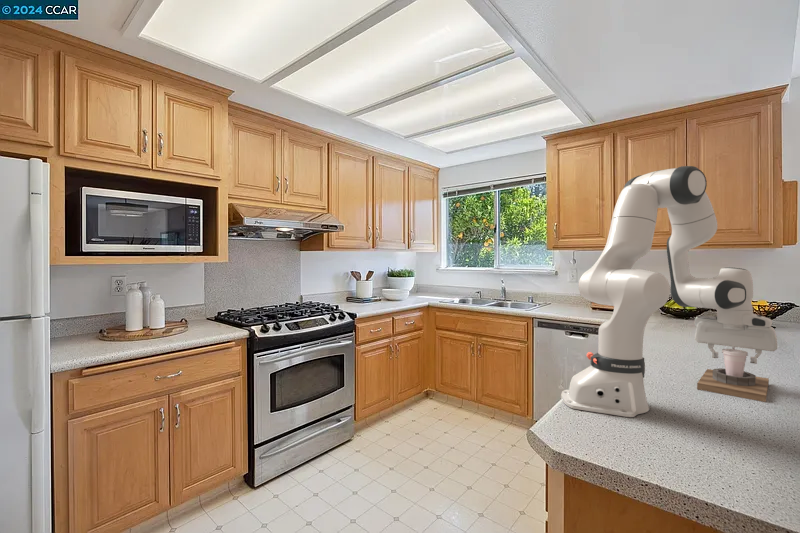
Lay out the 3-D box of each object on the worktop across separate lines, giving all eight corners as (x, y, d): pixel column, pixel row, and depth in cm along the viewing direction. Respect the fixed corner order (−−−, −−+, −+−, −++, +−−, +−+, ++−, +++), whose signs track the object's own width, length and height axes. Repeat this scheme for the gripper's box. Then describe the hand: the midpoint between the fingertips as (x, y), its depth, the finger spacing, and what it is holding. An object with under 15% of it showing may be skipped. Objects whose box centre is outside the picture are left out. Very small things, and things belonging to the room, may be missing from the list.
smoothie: (737, 377, 129) (738, 335, 129) (752, 384, 123) (753, 339, 122) (716, 377, 130) (717, 335, 129) (731, 383, 123) (731, 339, 123)
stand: (766, 402, 113) (766, 386, 113) (697, 389, 124) (697, 375, 124) (768, 384, 128) (768, 370, 128) (707, 374, 140) (707, 361, 140)
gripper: (692, 315, 131) (692, 356, 131) (777, 322, 116) (776, 368, 117) (696, 313, 135) (695, 353, 136) (778, 320, 121) (777, 364, 121)
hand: (733, 360), depth 126 cm, fingers open, 8 cm apart
